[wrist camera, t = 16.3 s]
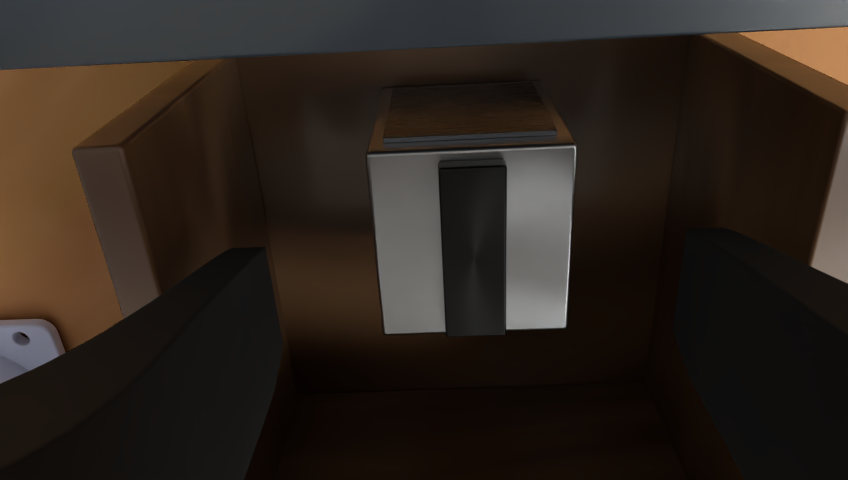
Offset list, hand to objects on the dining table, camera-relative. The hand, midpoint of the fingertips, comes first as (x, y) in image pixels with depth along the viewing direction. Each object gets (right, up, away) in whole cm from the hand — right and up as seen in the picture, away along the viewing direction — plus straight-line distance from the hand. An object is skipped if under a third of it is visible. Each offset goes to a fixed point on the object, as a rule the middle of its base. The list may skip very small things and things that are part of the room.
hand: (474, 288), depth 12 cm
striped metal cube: (0, +3, +5) cm, 6 cm away
